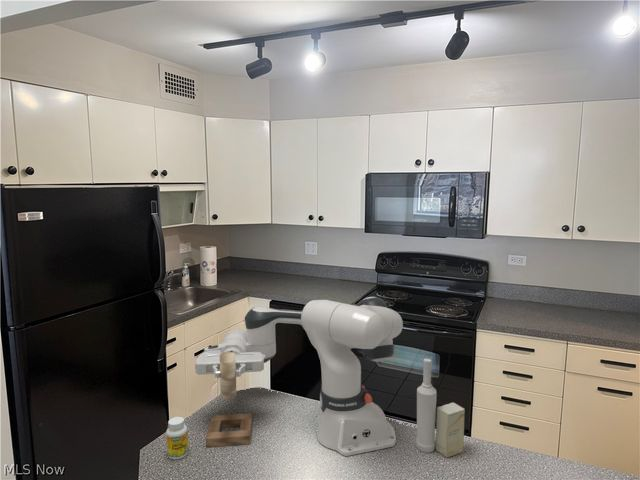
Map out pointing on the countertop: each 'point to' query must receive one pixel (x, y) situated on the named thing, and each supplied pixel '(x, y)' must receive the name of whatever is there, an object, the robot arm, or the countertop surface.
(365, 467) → the countertop surface
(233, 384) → the dowel
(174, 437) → the supplement bottle
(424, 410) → the bottle
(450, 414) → the skincare box
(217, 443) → the socket block
